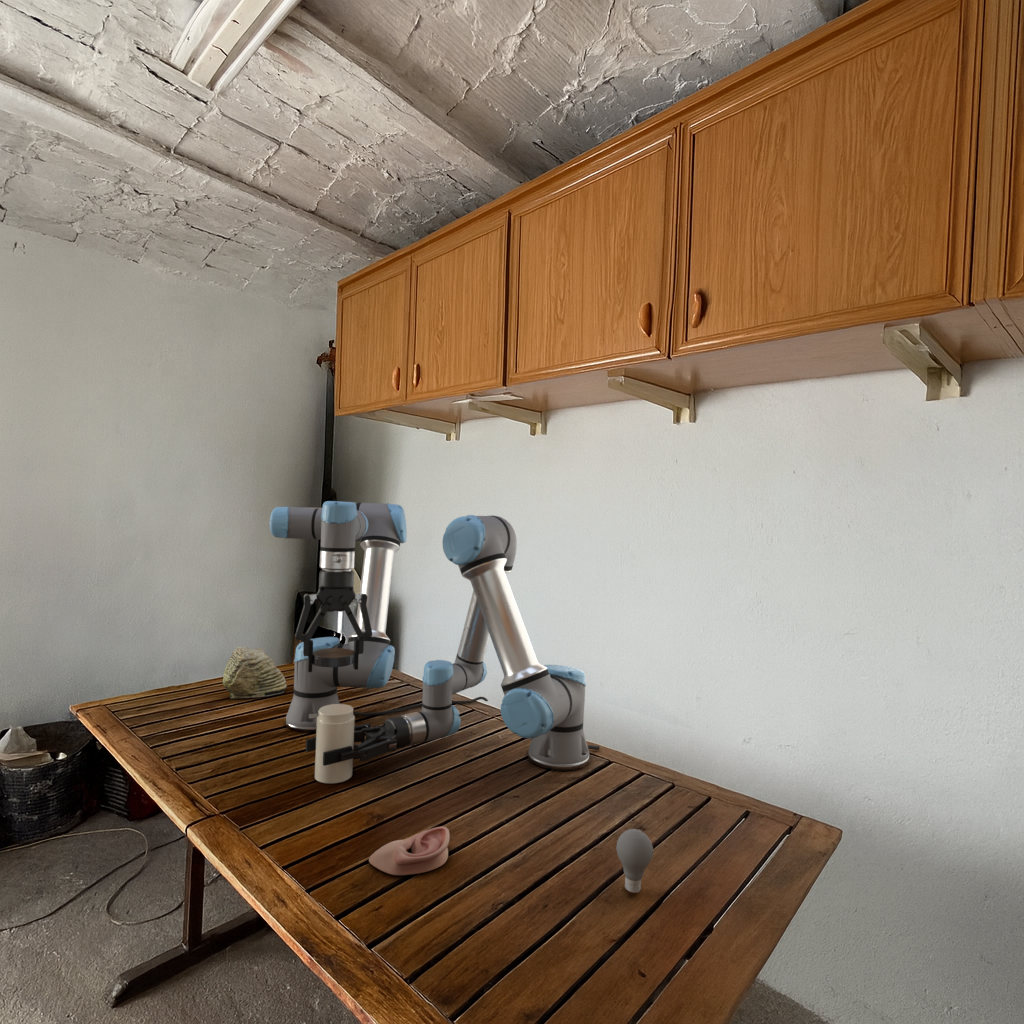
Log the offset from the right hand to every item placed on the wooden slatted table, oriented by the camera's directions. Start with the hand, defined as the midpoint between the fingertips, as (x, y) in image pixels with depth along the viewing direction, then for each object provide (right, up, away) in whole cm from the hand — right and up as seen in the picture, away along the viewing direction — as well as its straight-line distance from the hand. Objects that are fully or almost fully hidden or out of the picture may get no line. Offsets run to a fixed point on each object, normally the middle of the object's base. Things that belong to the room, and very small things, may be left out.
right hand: (315, 752), depth 141 cm
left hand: (+4, +18, +2) cm, 19 cm away
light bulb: (+64, -10, -35) cm, 74 cm away
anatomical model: (+26, -8, -29) cm, 39 cm away
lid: (+4, +22, +2) cm, 22 cm away
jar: (+3, -6, +3) cm, 8 cm away
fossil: (-37, -4, +57) cm, 68 cm away
